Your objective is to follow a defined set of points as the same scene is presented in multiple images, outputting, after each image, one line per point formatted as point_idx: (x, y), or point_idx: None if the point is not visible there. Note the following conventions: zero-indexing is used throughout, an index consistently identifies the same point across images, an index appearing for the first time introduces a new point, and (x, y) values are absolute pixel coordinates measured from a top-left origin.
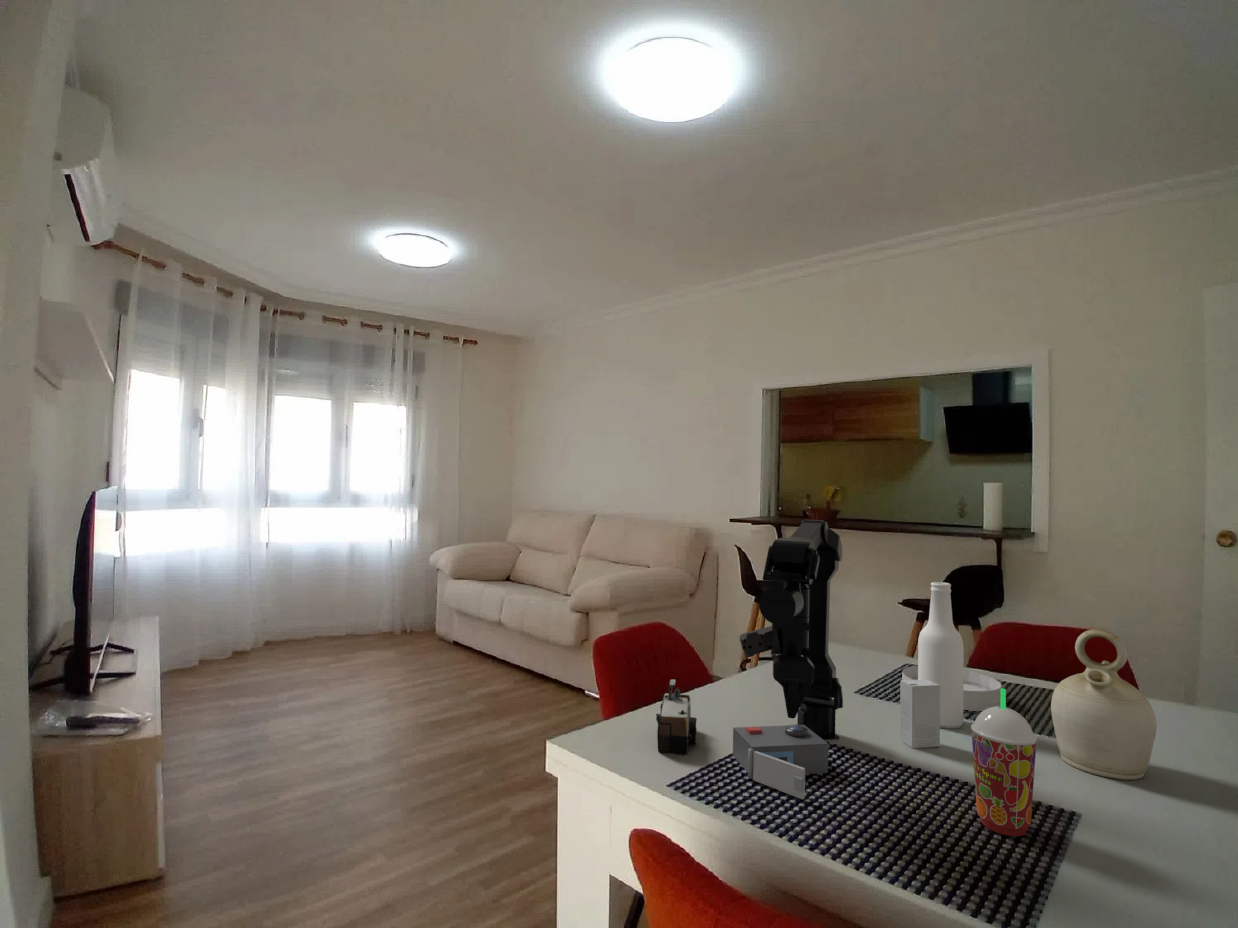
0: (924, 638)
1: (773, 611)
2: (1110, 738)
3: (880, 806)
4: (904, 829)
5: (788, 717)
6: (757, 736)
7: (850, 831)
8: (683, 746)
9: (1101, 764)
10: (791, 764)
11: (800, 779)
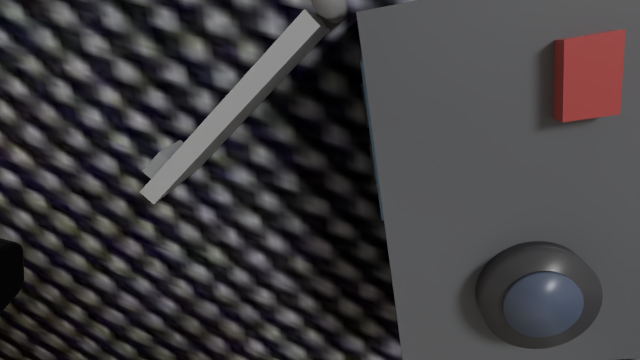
0: None
1: None
2: None
3: (193, 348)
4: (88, 349)
5: (3, 239)
6: (508, 80)
7: (43, 227)
8: None
9: None
10: (180, 159)
11: (146, 168)
